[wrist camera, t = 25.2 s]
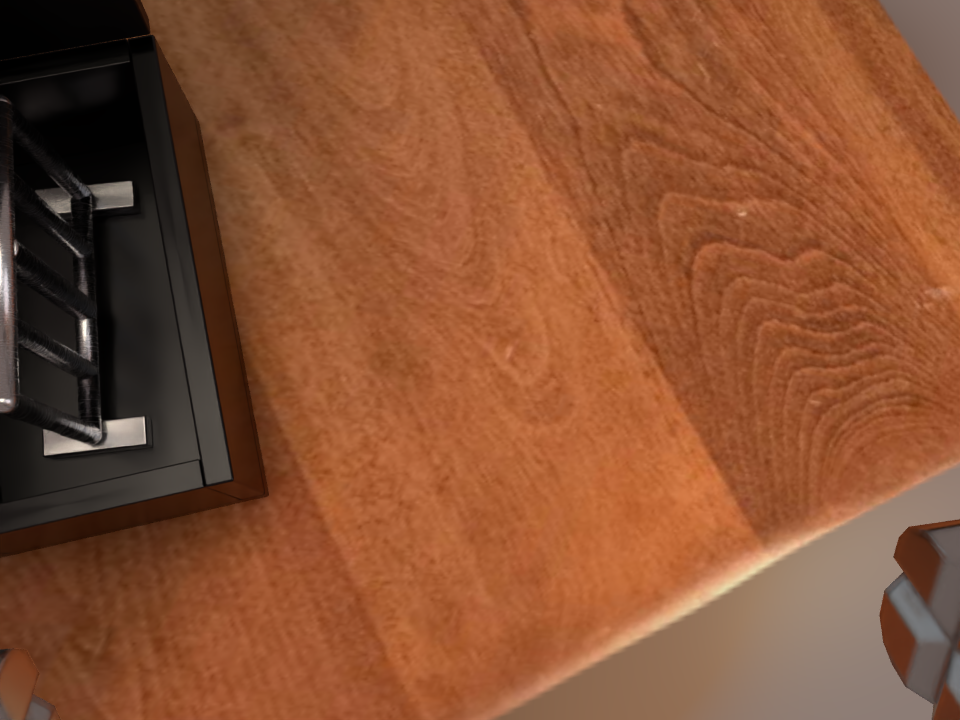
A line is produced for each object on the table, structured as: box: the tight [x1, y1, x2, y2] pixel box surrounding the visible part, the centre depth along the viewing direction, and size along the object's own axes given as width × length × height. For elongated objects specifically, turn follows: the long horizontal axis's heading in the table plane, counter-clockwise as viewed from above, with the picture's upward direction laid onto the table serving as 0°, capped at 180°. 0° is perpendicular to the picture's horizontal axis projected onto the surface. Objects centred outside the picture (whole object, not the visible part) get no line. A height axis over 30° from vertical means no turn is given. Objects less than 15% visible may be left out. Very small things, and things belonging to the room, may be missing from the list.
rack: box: [0, 94, 152, 459], centre depth 33 cm, size 11×4×9 cm, turn 7°
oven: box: [0, 35, 269, 558], centre depth 35 cm, size 17×11×7 cm, turn 13°
